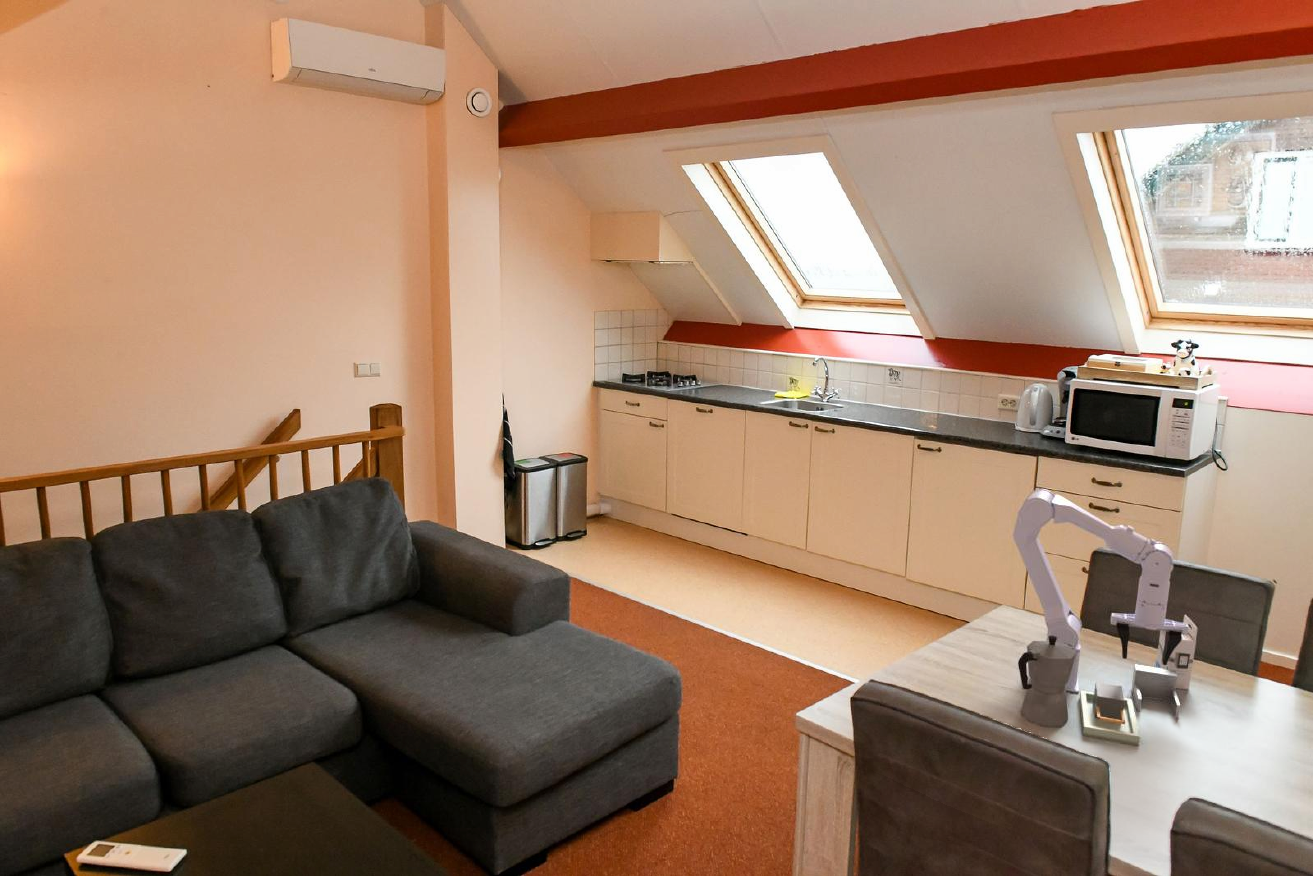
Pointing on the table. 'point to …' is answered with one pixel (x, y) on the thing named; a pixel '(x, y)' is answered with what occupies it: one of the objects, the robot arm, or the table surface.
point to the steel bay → (1155, 686)
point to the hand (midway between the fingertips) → (1144, 660)
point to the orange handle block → (1108, 703)
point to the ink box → (1180, 655)
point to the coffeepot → (1046, 681)
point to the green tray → (1107, 729)
